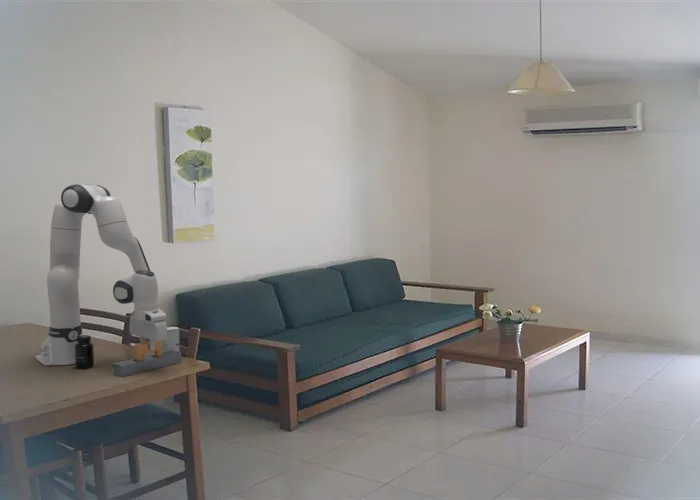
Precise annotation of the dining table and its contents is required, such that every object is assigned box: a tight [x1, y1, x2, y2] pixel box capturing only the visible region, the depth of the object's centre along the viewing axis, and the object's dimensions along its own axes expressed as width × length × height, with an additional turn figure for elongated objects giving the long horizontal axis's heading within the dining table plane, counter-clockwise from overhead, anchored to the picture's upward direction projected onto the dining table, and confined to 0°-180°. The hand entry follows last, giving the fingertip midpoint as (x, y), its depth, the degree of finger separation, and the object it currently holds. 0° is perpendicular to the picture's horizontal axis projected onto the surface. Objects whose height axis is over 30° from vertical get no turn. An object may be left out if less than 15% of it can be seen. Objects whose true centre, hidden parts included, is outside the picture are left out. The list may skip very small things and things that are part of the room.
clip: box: [134, 340, 162, 362], centre depth 272 cm, size 3×10×7 cm, turn 139°
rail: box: [112, 350, 183, 378], centre depth 272 cm, size 6×26×4 cm, turn 138°
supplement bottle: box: [74, 334, 95, 370], centre depth 274 cm, size 7×7×12 cm
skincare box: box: [162, 326, 180, 352], centre depth 287 cm, size 6×4×12 cm
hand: (148, 349), depth 272 cm, fingers closed on clip, 3 cm apart
